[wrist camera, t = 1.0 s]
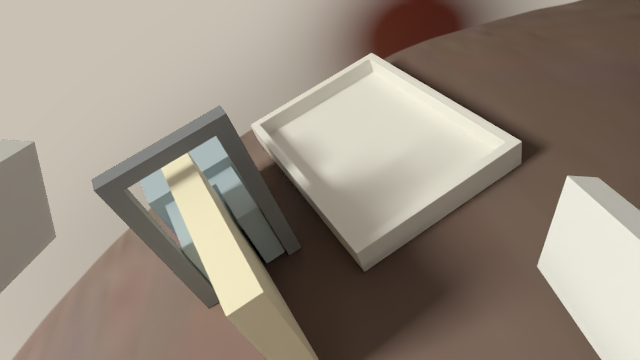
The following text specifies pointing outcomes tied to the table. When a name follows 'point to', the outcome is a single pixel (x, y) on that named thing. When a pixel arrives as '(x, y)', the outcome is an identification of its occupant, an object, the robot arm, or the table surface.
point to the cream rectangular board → (235, 267)
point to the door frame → (226, 179)
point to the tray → (383, 155)
